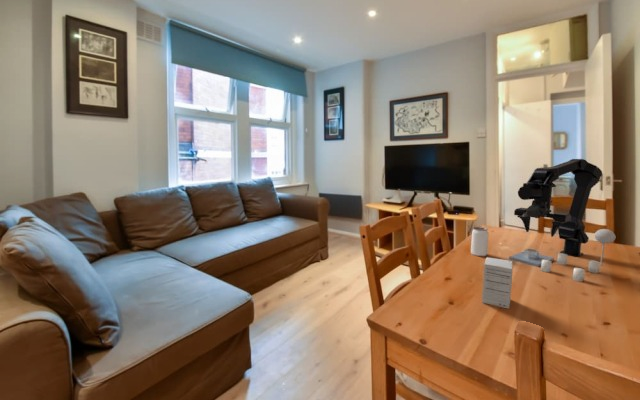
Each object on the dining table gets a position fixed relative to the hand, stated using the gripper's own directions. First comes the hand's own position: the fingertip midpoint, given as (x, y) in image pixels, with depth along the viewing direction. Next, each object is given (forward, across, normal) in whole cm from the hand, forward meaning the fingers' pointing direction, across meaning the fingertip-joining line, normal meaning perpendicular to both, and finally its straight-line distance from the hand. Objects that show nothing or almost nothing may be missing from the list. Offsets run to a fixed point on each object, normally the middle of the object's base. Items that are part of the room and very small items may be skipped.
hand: (539, 234), depth 125 cm
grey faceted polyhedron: (+10, -1, -3) cm, 11 cm away
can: (+11, -17, -15) cm, 25 cm away
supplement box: (+10, +11, -52) cm, 55 cm away
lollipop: (+12, +17, +13) cm, 24 cm away
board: (+11, -1, -3) cm, 11 cm away
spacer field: (+11, +13, -5) cm, 18 cm away
